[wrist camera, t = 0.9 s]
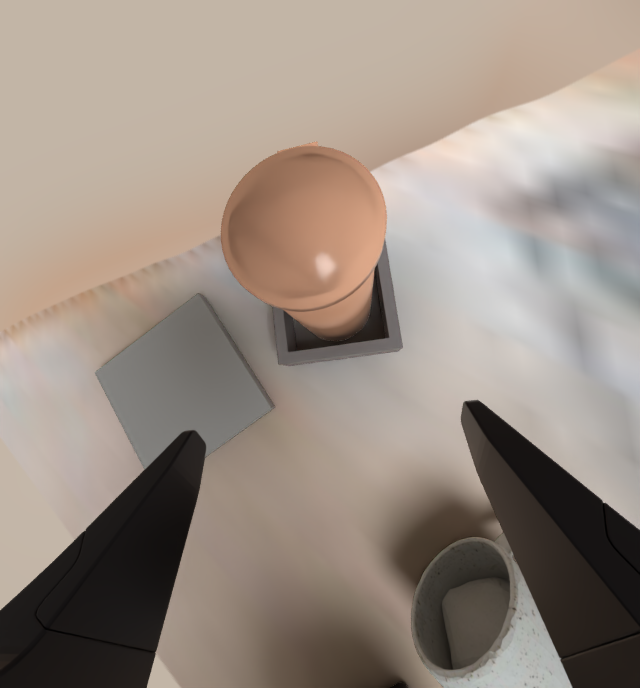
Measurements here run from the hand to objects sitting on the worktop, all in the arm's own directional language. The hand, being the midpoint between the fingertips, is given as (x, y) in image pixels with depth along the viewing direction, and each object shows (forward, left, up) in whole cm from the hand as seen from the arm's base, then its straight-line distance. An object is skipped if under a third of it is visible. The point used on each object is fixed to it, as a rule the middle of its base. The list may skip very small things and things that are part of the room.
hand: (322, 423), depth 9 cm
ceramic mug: (-16, -1, -14) cm, 21 cm away
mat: (+9, +11, -14) cm, 20 cm away
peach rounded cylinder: (+7, -4, -14) cm, 15 cm away
